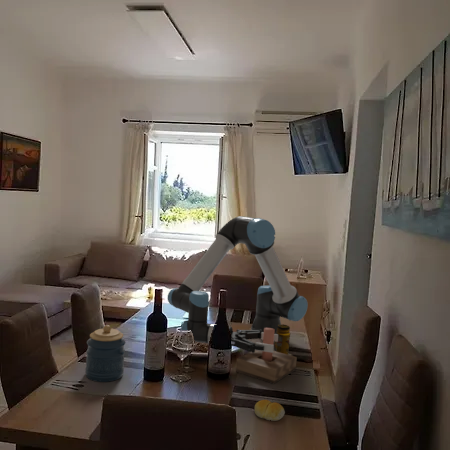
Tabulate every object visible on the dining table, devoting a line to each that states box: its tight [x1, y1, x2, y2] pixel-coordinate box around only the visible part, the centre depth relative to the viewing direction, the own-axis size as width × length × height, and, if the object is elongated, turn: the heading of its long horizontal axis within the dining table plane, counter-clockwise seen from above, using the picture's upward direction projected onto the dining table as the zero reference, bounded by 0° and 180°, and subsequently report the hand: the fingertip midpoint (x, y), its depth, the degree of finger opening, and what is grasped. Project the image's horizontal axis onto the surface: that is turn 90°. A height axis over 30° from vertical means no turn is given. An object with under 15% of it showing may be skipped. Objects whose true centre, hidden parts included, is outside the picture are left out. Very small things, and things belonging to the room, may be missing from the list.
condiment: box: [273, 323, 293, 356], centre depth 198 cm, size 7×8×12 cm
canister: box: [84, 324, 127, 383], centre depth 163 cm, size 13×13×18 cm
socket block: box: [235, 350, 298, 384], centre depth 178 cm, size 18×16×5 cm
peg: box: [262, 328, 275, 362], centre depth 178 cm, size 4×4×15 cm
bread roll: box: [254, 399, 286, 422], centre depth 143 cm, size 8×9×4 cm
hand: (275, 343), depth 177 cm, fingers open, 13 cm apart
